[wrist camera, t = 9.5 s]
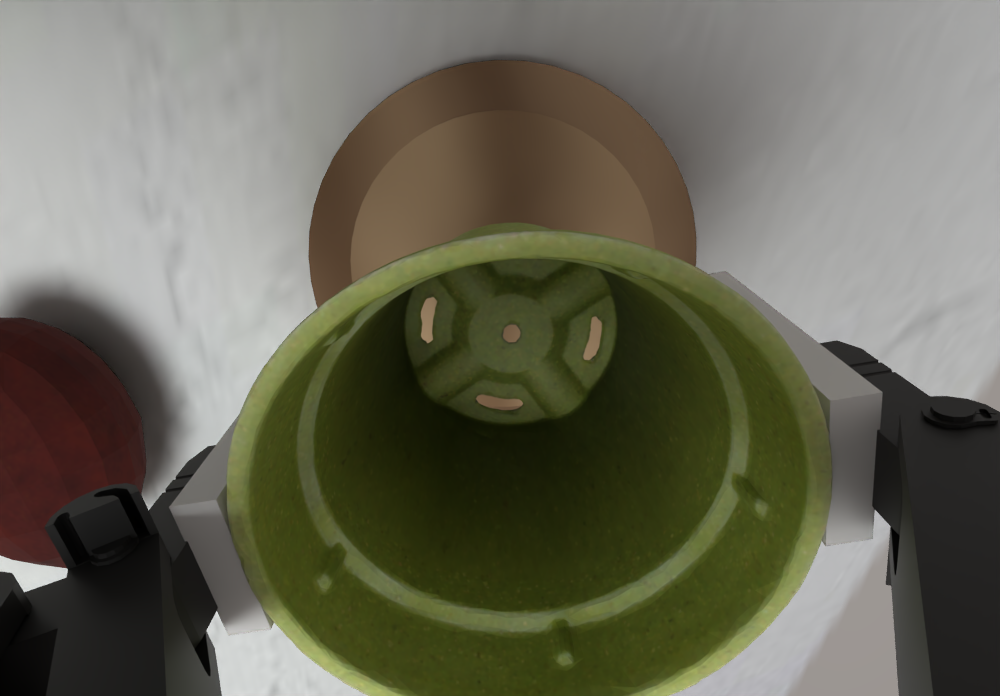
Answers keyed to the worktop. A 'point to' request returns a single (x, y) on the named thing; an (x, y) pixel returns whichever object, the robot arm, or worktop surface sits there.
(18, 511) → the potato
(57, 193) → the worktop surface
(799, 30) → the worktop surface
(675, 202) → the plate
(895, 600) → the robot arm
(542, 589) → the plant pot
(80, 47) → the worktop surface
